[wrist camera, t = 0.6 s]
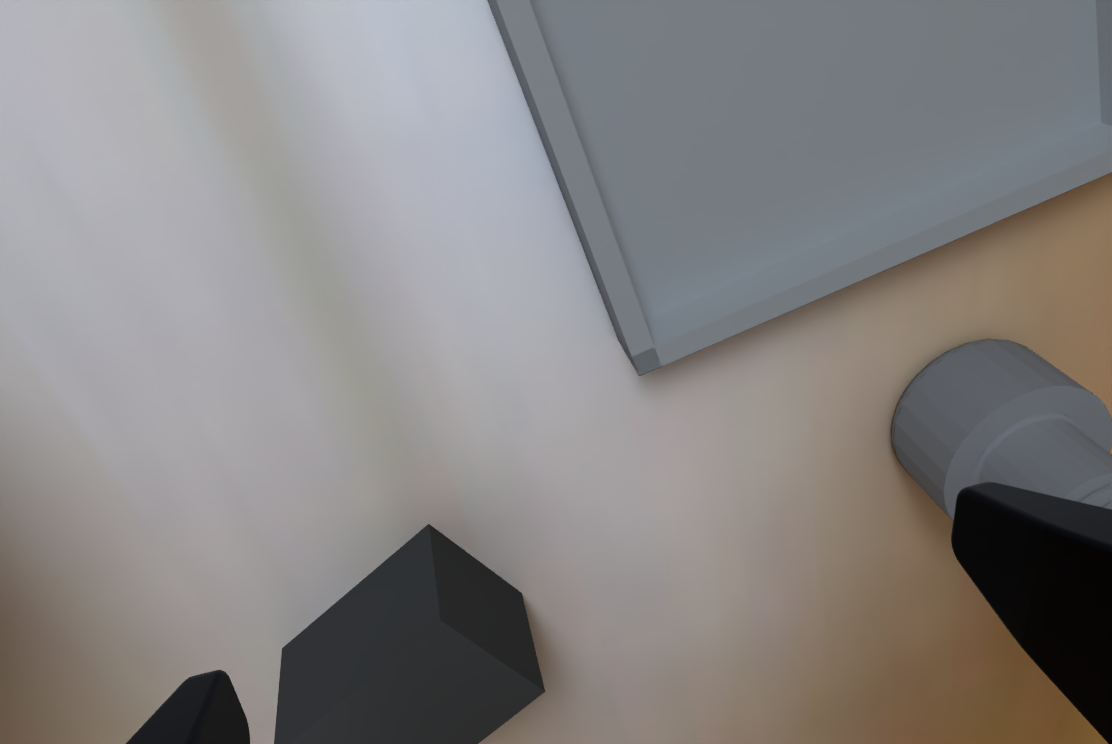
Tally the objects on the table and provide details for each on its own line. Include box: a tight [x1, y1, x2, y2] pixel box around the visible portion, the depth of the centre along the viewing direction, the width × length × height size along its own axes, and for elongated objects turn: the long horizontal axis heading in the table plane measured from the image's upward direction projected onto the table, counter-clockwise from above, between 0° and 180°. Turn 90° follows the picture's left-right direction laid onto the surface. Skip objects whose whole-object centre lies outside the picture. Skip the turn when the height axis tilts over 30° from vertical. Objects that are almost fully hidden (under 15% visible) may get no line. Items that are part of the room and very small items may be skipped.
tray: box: [488, 0, 1112, 376], centre depth 20 cm, size 14×12×2 cm
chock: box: [274, 524, 545, 744], centre depth 26 cm, size 6×4×4 cm, turn 131°
